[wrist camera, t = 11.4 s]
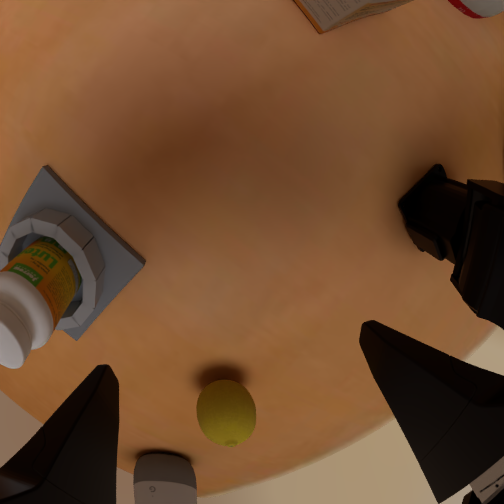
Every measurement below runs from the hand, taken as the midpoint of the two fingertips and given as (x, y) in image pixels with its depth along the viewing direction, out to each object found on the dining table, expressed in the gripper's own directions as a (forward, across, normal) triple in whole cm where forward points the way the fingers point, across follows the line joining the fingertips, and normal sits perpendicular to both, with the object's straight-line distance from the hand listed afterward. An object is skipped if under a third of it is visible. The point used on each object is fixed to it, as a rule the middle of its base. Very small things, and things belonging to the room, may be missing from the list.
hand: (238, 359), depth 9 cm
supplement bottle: (+12, +13, 0) cm, 18 cm away
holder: (+13, +13, 0) cm, 19 cm away
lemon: (+13, +2, +16) cm, 21 cm away
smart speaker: (+13, +14, +35) cm, 40 cm away
